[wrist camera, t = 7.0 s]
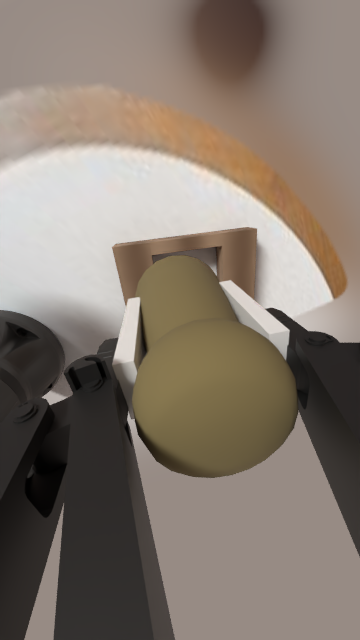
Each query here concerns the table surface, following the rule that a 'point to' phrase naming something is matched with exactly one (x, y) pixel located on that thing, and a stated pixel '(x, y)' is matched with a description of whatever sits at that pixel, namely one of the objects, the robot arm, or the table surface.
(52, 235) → the table surface
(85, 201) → the table surface
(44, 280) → the table surface
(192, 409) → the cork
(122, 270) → the brown picture frame
